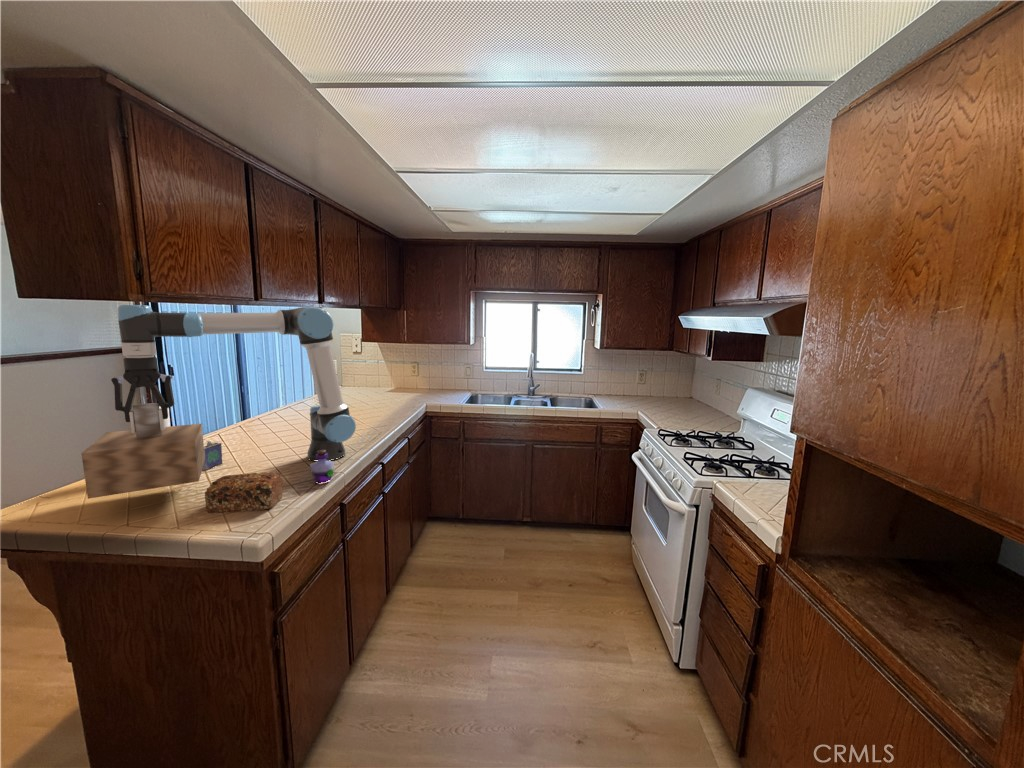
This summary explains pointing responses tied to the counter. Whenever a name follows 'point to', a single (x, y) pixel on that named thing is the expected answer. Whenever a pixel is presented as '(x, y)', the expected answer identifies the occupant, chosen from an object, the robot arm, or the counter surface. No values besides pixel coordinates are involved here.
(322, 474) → the potion bottle
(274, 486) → the bread
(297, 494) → the counter surface
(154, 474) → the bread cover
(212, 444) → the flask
